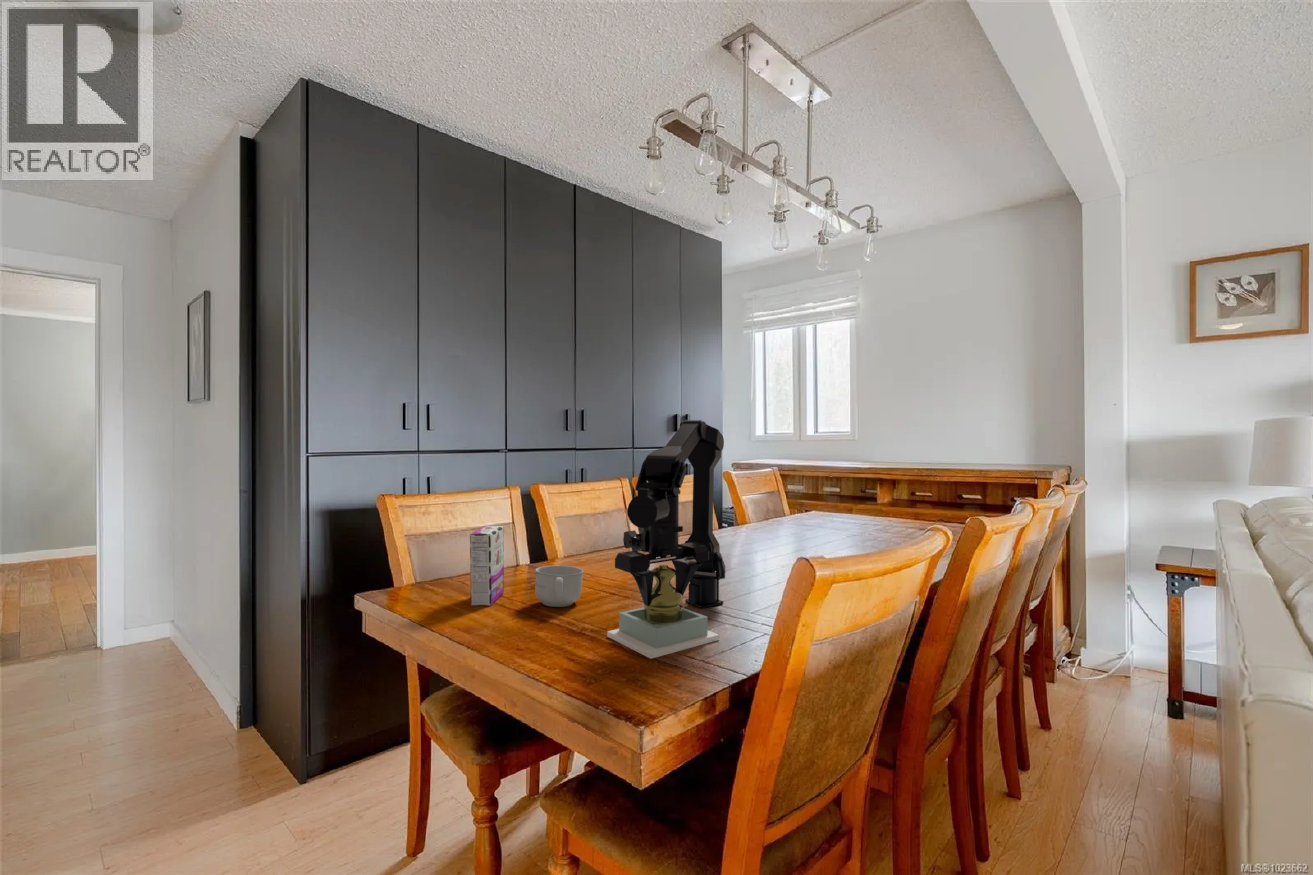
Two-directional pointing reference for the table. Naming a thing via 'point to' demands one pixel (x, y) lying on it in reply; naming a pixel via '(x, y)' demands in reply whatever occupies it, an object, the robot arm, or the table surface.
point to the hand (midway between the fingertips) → (663, 602)
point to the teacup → (558, 585)
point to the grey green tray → (661, 633)
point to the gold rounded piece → (664, 598)
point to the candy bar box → (486, 565)
